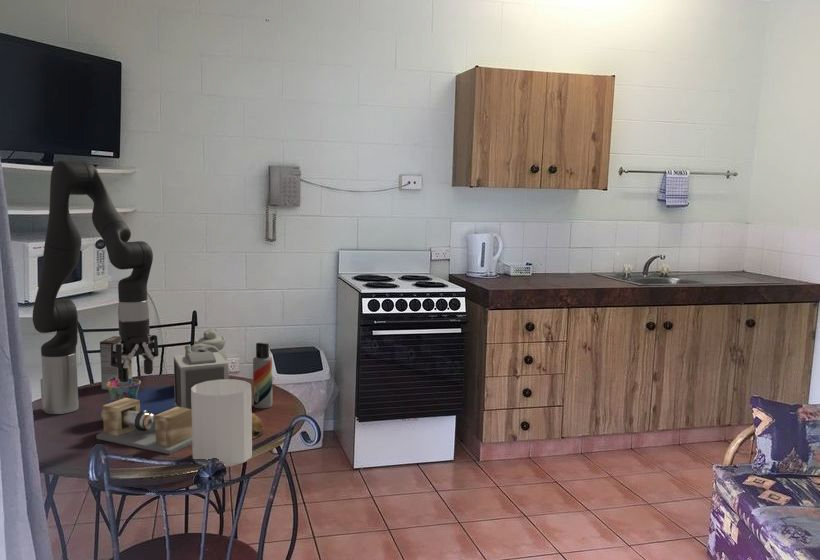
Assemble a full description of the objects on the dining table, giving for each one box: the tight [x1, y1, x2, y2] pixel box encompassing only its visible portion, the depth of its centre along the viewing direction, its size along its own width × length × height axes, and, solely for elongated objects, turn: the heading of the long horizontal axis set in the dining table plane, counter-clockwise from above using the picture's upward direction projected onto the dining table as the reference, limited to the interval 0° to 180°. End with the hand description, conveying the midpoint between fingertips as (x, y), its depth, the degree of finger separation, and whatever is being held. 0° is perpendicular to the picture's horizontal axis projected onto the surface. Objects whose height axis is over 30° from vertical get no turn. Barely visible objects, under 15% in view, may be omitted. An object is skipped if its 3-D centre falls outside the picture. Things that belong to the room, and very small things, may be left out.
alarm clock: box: [173, 351, 230, 409], centre depth 206 cm, size 18×13×18 cm
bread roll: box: [252, 412, 265, 440], centre depth 190 cm, size 10×10×8 cm
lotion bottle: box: [252, 342, 273, 409], centre depth 214 cm, size 6×6×20 cm
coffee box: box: [99, 335, 133, 391], centre depth 232 cm, size 9×6×16 cm
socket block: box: [154, 406, 192, 447], centre depth 181 cm, size 5×8×8 cm, turn 156°
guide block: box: [102, 398, 141, 436], centre depth 188 cm, size 5×8×8 cm, turn 156°
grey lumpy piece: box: [184, 327, 228, 362], centre depth 236 cm, size 16×15×19 cm
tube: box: [100, 409, 156, 431], centre depth 187 cm, size 16×5×5 cm, turn 66°
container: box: [191, 378, 253, 468], centre depth 173 cm, size 14×14×18 cm
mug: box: [106, 378, 142, 403], centre depth 202 cm, size 12×9×11 cm
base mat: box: [96, 428, 192, 455], centre depth 185 cm, size 25×12×1 cm, turn 66°
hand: (136, 377), depth 185 cm, fingers open, 8 cm apart
